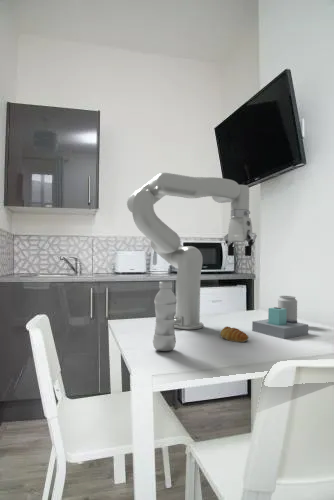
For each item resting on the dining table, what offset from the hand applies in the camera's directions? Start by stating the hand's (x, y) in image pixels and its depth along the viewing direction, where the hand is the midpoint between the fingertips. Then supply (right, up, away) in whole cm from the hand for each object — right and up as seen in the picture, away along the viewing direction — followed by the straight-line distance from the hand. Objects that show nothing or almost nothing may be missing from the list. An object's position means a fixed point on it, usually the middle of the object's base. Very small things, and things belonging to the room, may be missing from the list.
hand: (239, 255), depth 136 cm
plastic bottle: (-31, -27, -41) cm, 58 cm away
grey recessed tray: (+12, -28, -15) cm, 34 cm away
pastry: (-8, -28, -26) cm, 39 cm away
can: (+19, -29, -2) cm, 35 cm away
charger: (+10, -28, -16) cm, 34 cm away
